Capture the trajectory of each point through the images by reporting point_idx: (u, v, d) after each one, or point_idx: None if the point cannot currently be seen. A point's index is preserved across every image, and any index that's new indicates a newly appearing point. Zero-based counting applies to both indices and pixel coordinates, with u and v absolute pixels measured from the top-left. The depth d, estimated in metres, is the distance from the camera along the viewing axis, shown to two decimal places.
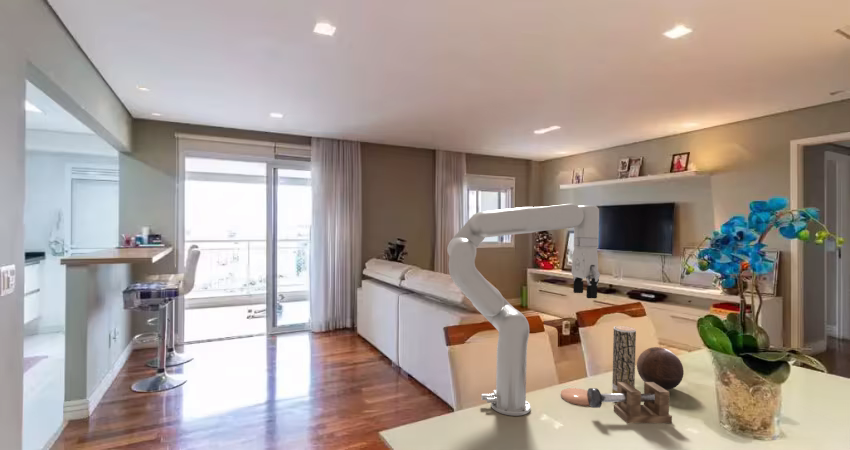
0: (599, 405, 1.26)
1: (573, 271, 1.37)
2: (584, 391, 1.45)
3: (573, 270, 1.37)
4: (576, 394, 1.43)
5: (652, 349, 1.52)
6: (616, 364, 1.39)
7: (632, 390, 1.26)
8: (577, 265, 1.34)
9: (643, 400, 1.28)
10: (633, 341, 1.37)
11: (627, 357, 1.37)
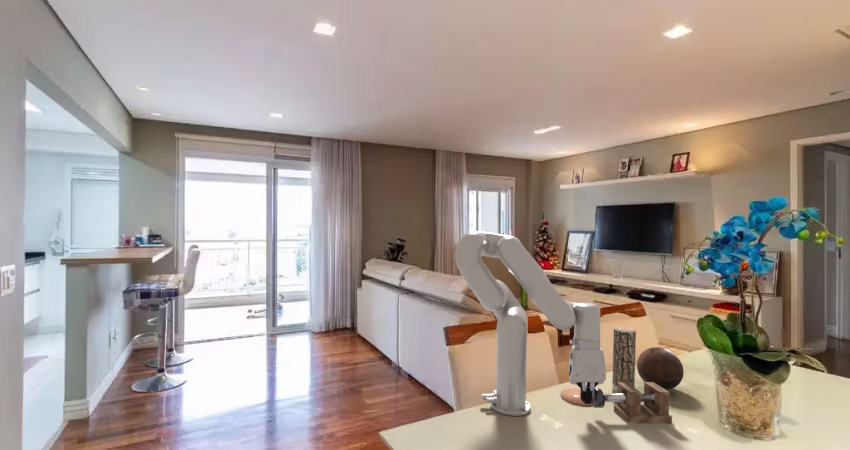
0: (602, 405, 1.26)
1: (581, 377, 1.25)
2: None
3: (581, 376, 1.25)
4: (576, 394, 1.43)
5: (652, 349, 1.52)
6: (616, 364, 1.39)
7: (632, 390, 1.26)
8: (591, 370, 1.25)
9: (646, 400, 1.28)
10: (633, 341, 1.37)
11: (627, 357, 1.37)
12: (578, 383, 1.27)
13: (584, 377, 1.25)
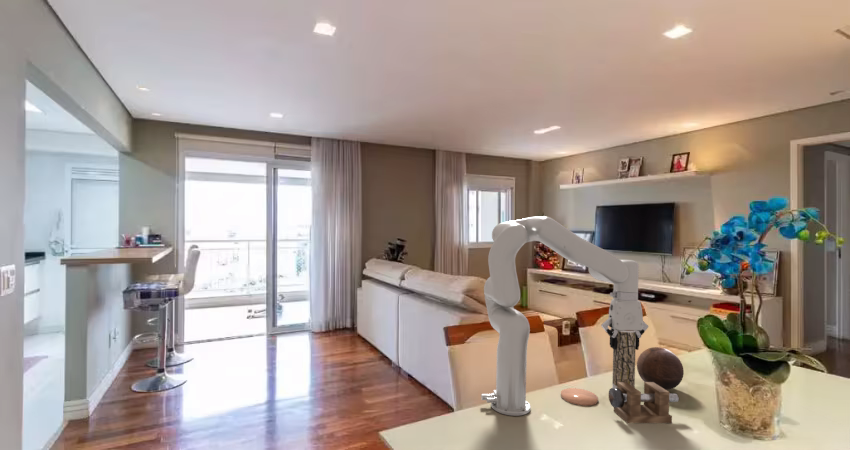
0: (621, 405, 1.26)
1: (621, 326, 1.37)
2: (584, 391, 1.45)
3: (621, 325, 1.37)
4: (576, 394, 1.43)
5: (652, 349, 1.52)
6: (616, 364, 1.39)
7: (632, 390, 1.26)
8: (630, 319, 1.37)
9: None
10: (633, 341, 1.37)
11: (627, 357, 1.37)
12: (608, 330, 1.39)
13: (623, 326, 1.37)
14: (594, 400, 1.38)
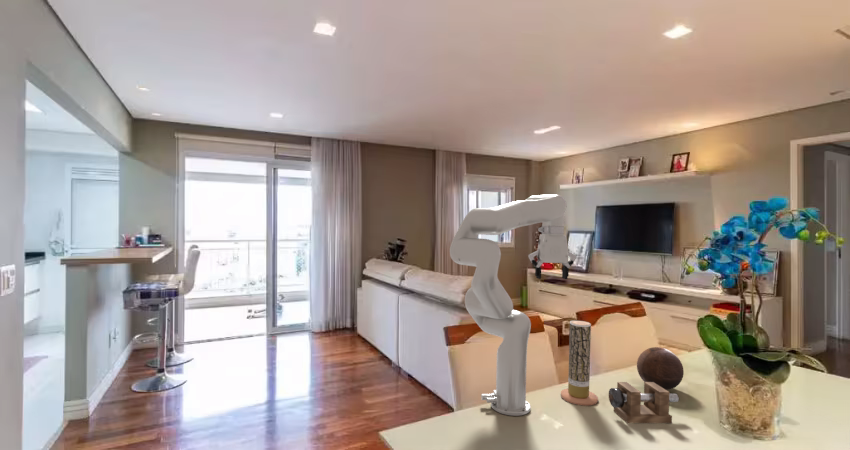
0: (621, 405, 1.26)
1: (547, 258, 1.45)
2: None
3: (547, 257, 1.45)
4: None
5: (652, 349, 1.52)
6: (571, 358, 1.41)
7: (632, 390, 1.26)
8: (555, 251, 1.46)
9: None
10: (587, 336, 1.39)
11: (581, 351, 1.39)
12: (533, 261, 1.47)
13: (549, 258, 1.45)
14: (594, 400, 1.38)
